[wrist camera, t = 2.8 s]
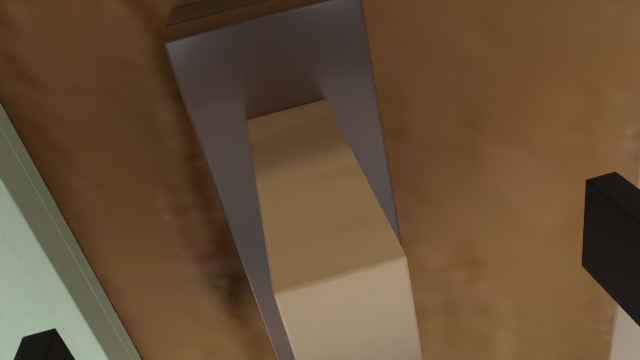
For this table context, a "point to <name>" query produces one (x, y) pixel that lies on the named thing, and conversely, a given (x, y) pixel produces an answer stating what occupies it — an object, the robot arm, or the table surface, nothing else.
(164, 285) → the table surface
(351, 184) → the chalkboard eraser
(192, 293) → the table surface
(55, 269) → the tray
